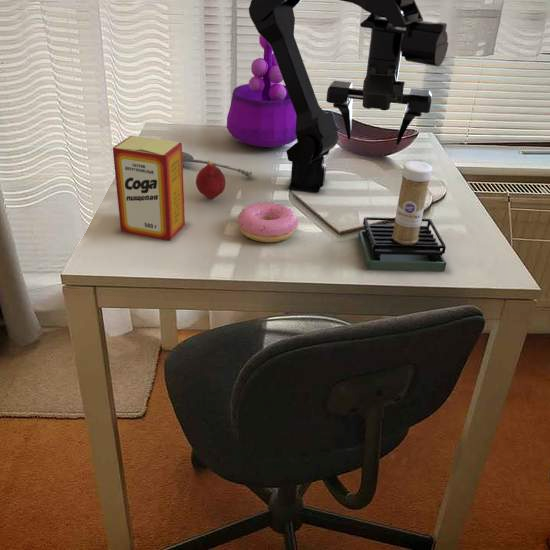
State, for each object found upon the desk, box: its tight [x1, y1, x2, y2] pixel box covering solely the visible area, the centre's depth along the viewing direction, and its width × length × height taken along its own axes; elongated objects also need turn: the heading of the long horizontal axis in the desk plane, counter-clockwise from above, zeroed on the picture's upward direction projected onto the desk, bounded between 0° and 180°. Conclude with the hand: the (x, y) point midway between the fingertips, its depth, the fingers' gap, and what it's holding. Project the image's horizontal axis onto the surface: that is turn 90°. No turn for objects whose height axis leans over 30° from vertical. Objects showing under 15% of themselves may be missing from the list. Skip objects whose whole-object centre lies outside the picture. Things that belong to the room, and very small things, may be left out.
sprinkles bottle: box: [392, 160, 433, 245], centre depth 100 cm, size 5×5×13 cm
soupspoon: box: [182, 151, 253, 179], centre depth 134 cm, size 22×3×7 cm
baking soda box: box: [112, 135, 186, 241], centre depth 106 cm, size 10×6×16 cm
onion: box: [195, 160, 227, 201], centre depth 119 cm, size 6×6×8 cm
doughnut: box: [236, 201, 299, 243], centre depth 110 cm, size 11×11×4 cm
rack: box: [362, 216, 447, 262], centre depth 105 cm, size 12×10×4 cm
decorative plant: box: [226, 34, 297, 148], centre depth 143 cm, size 19×18×30 cm
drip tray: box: [357, 229, 447, 272], centre depth 106 cm, size 13×11×2 cm
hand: (373, 141), depth 116 cm, fingers open, 9 cm apart
